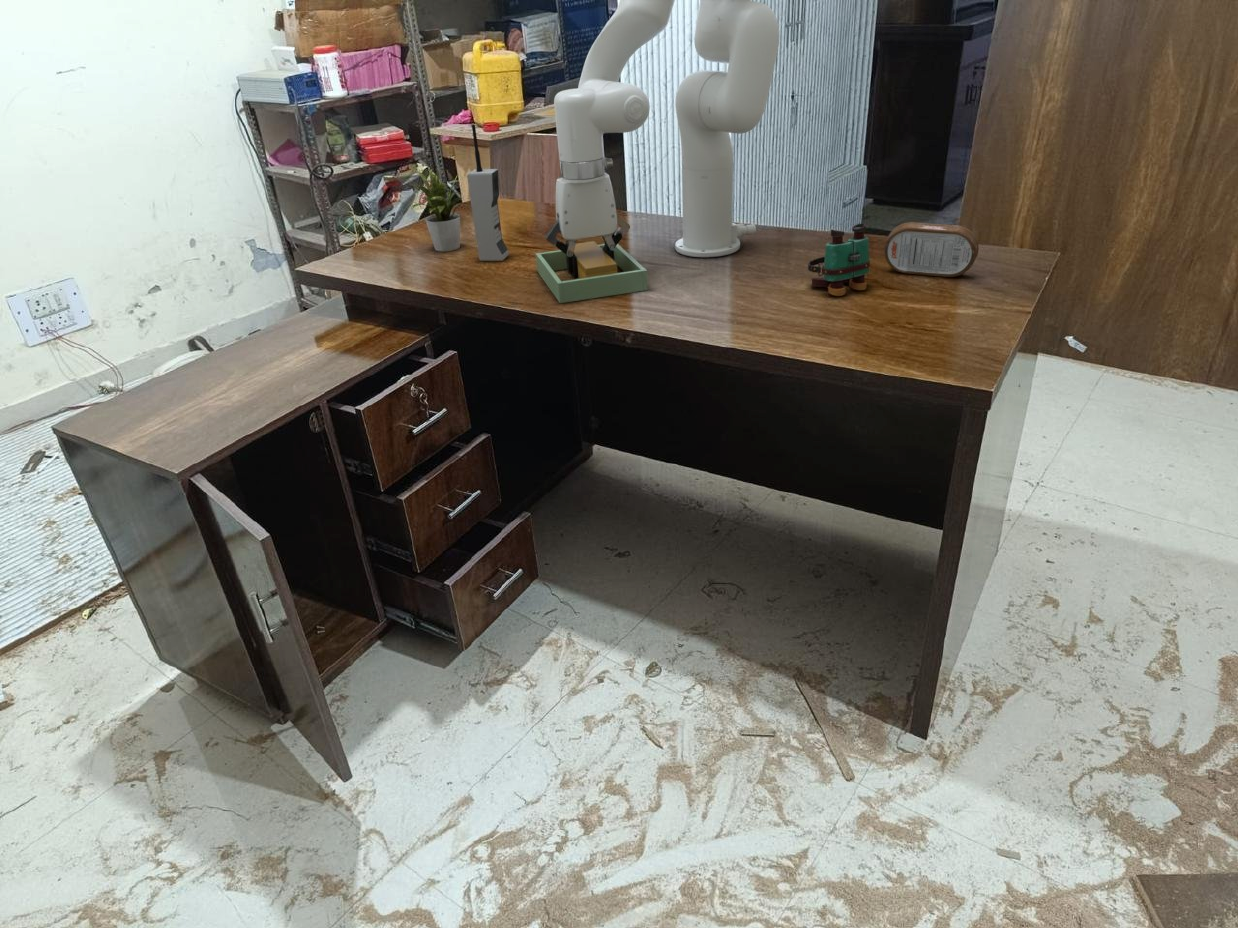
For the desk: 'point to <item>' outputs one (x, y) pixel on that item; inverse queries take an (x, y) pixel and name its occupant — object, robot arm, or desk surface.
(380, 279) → the desk surface
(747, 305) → the desk surface
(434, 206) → the house plant
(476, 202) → the vintage mobile phone
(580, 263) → the tan wooden plank
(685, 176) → the robot arm
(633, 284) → the green rectangular open frame
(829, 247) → the binoculars
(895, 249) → the tin
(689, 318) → the desk surface
